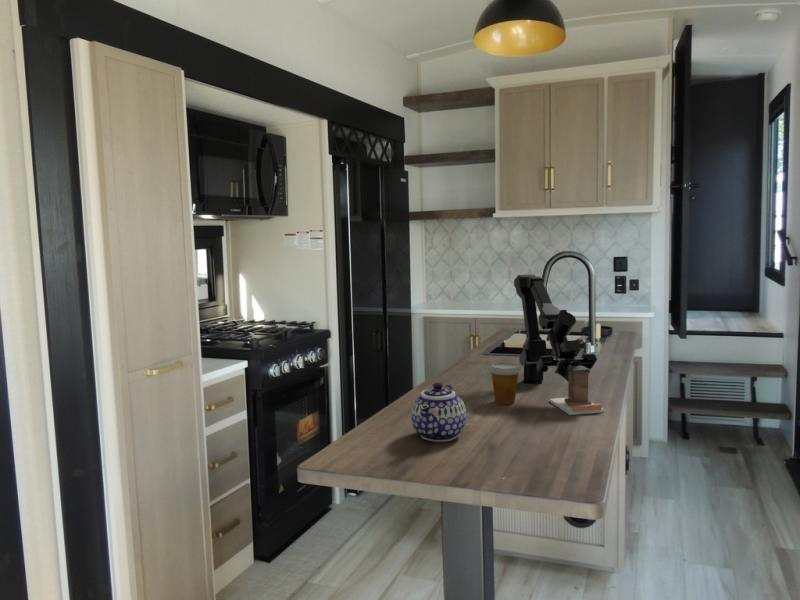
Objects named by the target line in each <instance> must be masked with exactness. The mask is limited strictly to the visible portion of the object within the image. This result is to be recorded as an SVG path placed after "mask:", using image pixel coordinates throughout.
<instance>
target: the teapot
mask: <svg viewBox="0 0 800 600" xmlns="http://www.w3.org/2000/svg"><path fill="white" fill-rule="evenodd" d="M443 386H444V385H443V384H442V383H441V382H434V383H433V384H432V387H433V388H429V389H424V390H422V391H421V393H420V395H419V396H417V398H416V399H414V401H413V403H412V407H411V413H410V417H411V420H410V421H411V423H412V425H411V426H412V427H413V429H414V431H415V432H416V434H418V435H420V436H421V439H423V440H426V441H431V442H439V443H440V442H450V441H453V440H455V439H457V437H458V435H460V434H461V432H463V430H464V429H465V426H466V423H467V410H466V406H465V405H466V404H465V402H464V400H462V398H460V396H458V395H457V394H456V392H455V391H454V387H453V385H450V384H446V385H445V386H444V388H443Z"/></svg>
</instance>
